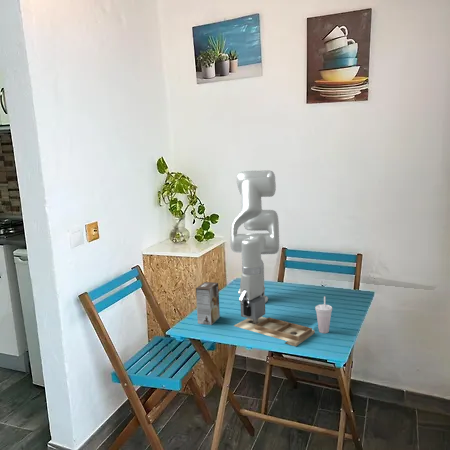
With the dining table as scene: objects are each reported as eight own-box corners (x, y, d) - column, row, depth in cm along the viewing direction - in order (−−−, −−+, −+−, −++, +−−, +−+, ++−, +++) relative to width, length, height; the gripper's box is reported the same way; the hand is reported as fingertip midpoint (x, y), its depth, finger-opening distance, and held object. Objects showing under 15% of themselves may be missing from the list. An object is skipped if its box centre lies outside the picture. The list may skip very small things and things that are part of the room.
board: (233, 328, 173) (233, 316, 172) (254, 317, 184) (253, 305, 183) (295, 346, 156) (295, 332, 155) (314, 333, 166) (314, 320, 165)
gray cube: (241, 316, 176) (240, 299, 174) (251, 310, 181) (250, 294, 180) (255, 320, 171) (254, 303, 170) (265, 314, 177) (264, 297, 175)
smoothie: (321, 336, 163) (321, 300, 161) (311, 329, 169) (311, 295, 167) (335, 332, 166) (336, 297, 164) (325, 326, 172) (325, 292, 169)
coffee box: (206, 318, 185) (204, 281, 183) (220, 319, 183) (218, 282, 180) (197, 326, 177) (195, 287, 174) (212, 328, 175) (210, 289, 172)
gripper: (256, 262, 181) (257, 303, 185) (230, 274, 168) (232, 317, 172) (272, 265, 176) (272, 307, 180) (246, 277, 163) (247, 322, 167)
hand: (253, 311), depth 176 cm, fingers closed on gray cube, 7 cm apart
